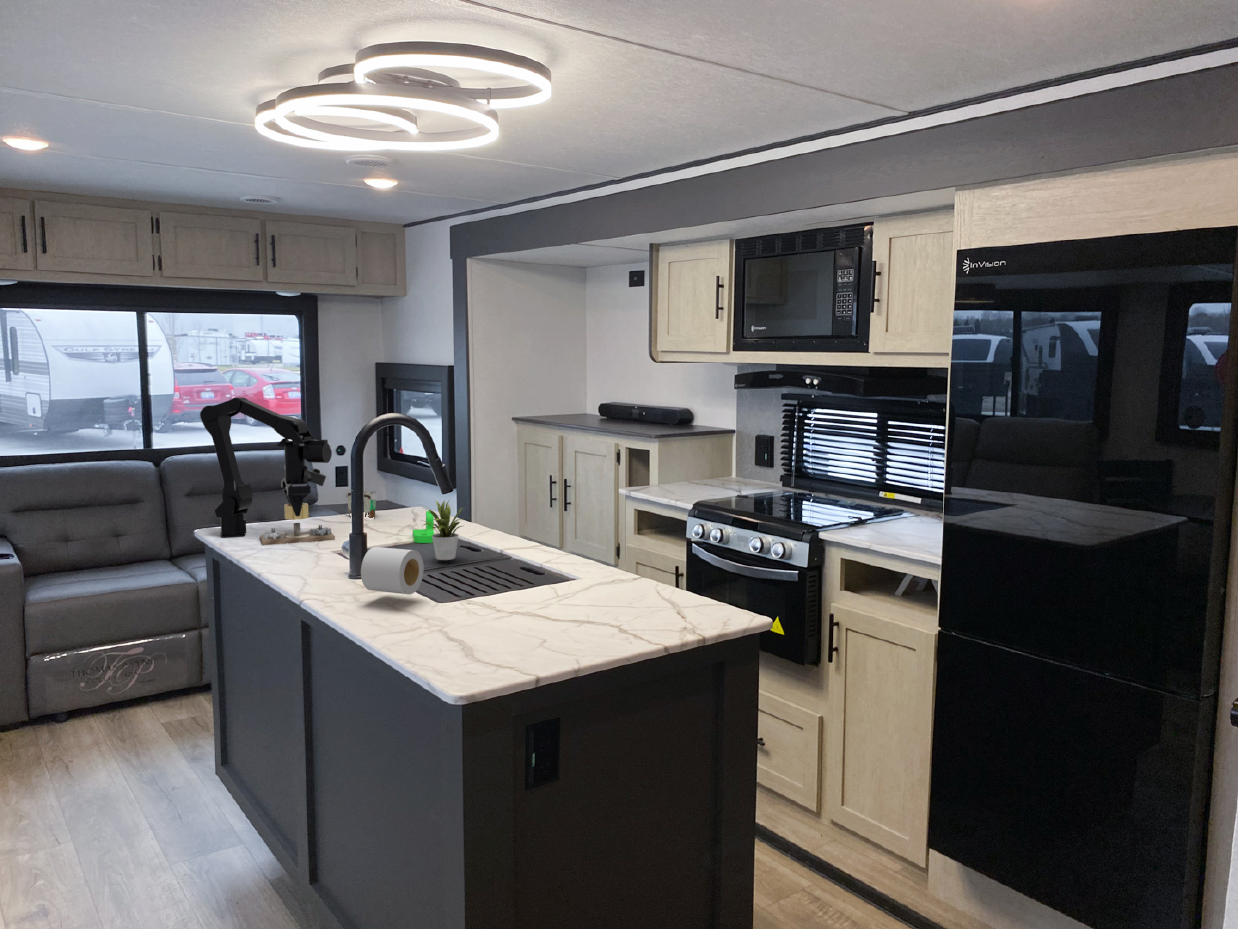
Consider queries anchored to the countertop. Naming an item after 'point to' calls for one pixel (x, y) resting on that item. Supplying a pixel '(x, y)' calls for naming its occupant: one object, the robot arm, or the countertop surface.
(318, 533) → the gear
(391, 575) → the toilet paper
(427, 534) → the mechanical part
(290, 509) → the tan hollow octagonal ring
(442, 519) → the house plant
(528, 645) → the countertop surface
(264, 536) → the gear
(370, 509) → the food container
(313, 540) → the gear board
